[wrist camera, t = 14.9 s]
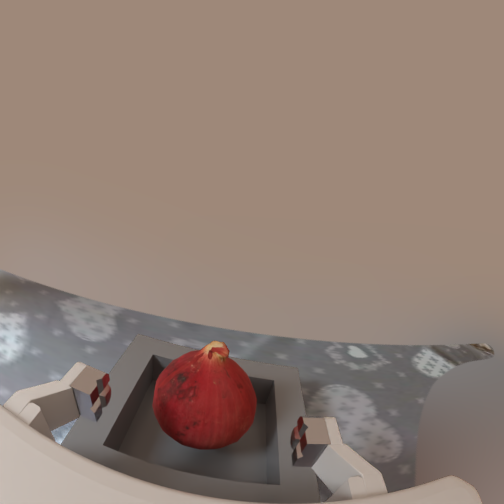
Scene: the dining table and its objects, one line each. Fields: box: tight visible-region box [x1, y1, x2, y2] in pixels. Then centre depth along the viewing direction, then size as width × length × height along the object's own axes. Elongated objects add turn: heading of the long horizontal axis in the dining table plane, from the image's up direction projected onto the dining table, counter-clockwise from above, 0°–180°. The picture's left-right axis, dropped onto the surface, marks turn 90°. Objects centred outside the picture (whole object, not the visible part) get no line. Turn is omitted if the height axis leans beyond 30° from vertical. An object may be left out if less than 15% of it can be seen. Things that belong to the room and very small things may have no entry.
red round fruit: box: [152, 341, 257, 450], centre depth 14 cm, size 6×6×8 cm
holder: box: [61, 334, 321, 504], centre depth 14 cm, size 13×13×4 cm
